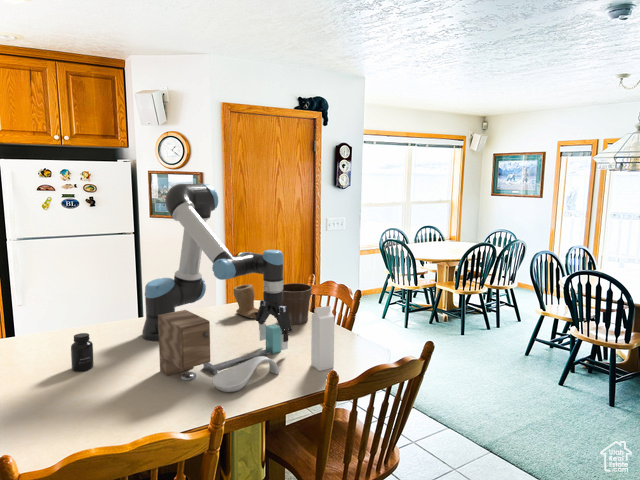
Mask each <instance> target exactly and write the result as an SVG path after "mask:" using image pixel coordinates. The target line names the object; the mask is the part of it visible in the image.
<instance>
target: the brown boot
mask: <svg viewBox="0 0 640 480" xmlns="http://www.w3.org/2000/svg"><path fill="white" fill-rule="evenodd" d="M233 295H234V298H235V300H236V302H237V305H238V308H237V309H236V310H235V311H236V313H237V314H239V315H241V316H243V317H246V318H250V319H256V316H257V313H258V310H259V308H257V307H255V295H256V294H255V289H254V286H253V284H248V283H247V284H241V285H237V286H235V287H234V288H233Z"/></svg>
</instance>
